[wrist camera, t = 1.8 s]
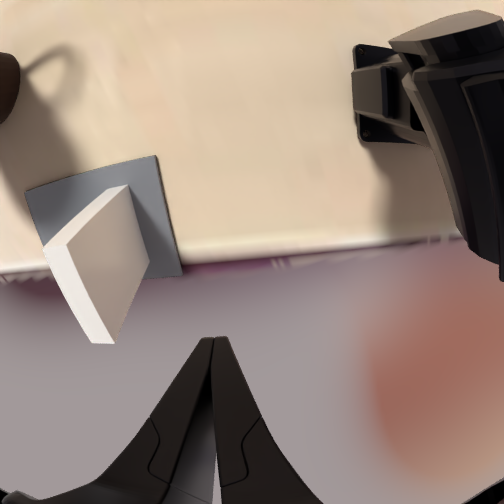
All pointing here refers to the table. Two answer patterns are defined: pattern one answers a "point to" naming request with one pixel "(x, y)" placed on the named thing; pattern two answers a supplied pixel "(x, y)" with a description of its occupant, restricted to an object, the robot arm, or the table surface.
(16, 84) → the coffee mug
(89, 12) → the table surface
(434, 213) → the table surface
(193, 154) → the table surface
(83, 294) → the tile
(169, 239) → the mat
